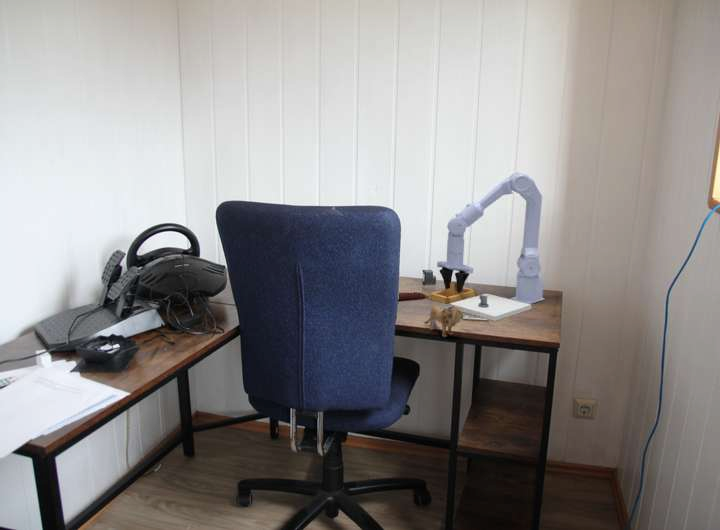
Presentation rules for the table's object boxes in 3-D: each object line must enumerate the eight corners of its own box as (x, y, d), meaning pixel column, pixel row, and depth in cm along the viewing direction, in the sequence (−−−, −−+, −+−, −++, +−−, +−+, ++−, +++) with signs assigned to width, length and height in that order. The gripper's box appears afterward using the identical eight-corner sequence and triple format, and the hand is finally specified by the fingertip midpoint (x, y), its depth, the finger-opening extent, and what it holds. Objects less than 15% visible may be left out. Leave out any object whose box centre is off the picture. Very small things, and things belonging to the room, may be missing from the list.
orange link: (458, 291, 198) (458, 277, 197) (476, 296, 192) (477, 281, 190) (429, 298, 188) (429, 283, 187) (447, 304, 182) (448, 288, 180)
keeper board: (486, 297, 190) (487, 282, 189) (531, 309, 177) (532, 293, 175) (449, 307, 177) (450, 292, 176) (494, 321, 164) (496, 304, 163)
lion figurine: (466, 337, 150) (467, 306, 148) (452, 340, 147) (453, 309, 145) (430, 323, 162) (431, 294, 160) (417, 326, 159) (418, 297, 157)
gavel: (423, 286, 193) (435, 293, 184) (422, 298, 194) (434, 306, 185) (368, 286, 187) (378, 293, 177) (367, 299, 187) (377, 307, 178)
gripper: (431, 250, 189) (430, 287, 192) (464, 256, 178) (462, 296, 181) (445, 248, 194) (443, 284, 196) (477, 254, 183) (475, 292, 186)
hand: (453, 290), depth 189 cm, fingers open, 5 cm apart
